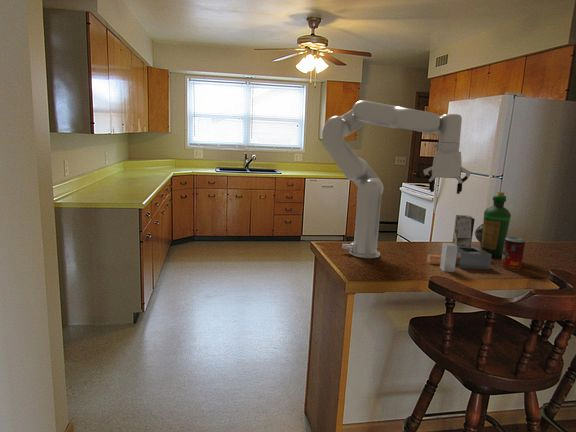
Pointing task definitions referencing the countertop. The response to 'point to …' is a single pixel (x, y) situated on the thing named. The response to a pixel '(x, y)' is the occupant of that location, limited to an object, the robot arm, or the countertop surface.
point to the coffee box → (463, 230)
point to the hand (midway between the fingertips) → (444, 192)
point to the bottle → (495, 226)
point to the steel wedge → (448, 257)
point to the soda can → (513, 253)
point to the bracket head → (467, 258)
